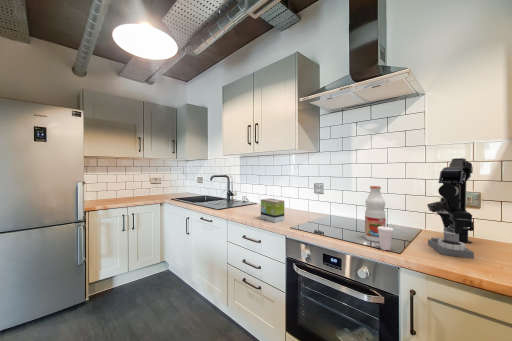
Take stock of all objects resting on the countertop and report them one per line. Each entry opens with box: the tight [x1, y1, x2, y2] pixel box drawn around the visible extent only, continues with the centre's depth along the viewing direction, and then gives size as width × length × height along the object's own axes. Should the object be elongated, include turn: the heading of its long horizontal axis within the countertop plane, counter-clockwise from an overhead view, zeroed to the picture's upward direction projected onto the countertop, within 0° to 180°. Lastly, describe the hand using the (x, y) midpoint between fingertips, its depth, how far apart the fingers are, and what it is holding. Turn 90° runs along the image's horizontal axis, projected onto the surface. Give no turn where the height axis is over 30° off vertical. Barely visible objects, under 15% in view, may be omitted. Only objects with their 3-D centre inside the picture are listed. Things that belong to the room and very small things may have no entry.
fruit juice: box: [364, 185, 386, 243], centre depth 114 cm, size 9×9×28 cm
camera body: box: [427, 236, 475, 259], centre depth 99 cm, size 14×11×4 cm
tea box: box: [260, 198, 285, 224], centre depth 157 cm, size 15×10×15 cm, turn 42°
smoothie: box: [378, 217, 394, 251], centre depth 100 cm, size 6×6×14 cm
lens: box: [443, 226, 459, 245], centre depth 97 cm, size 5×5×8 cm
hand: (451, 231), depth 97 cm, fingers open, 9 cm apart
